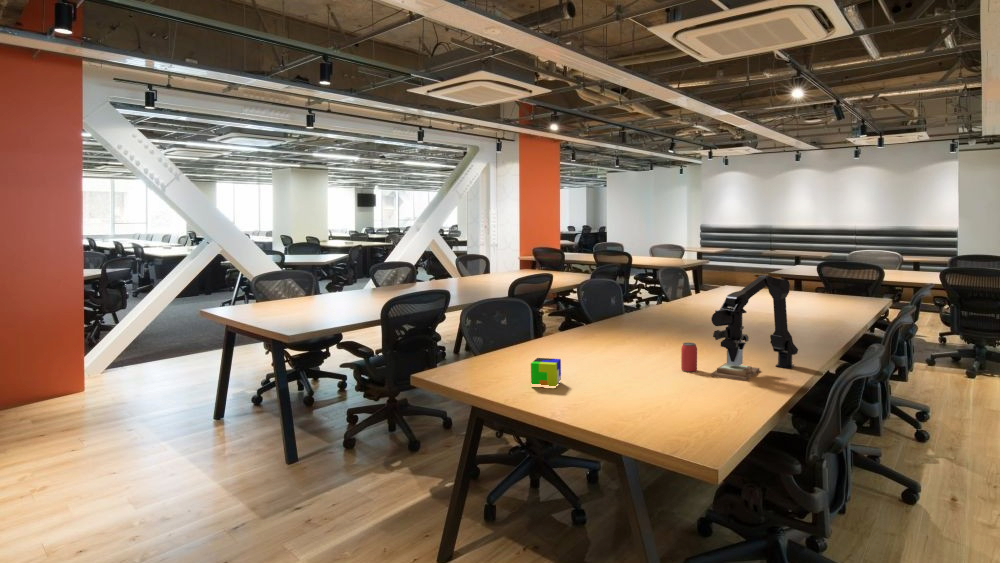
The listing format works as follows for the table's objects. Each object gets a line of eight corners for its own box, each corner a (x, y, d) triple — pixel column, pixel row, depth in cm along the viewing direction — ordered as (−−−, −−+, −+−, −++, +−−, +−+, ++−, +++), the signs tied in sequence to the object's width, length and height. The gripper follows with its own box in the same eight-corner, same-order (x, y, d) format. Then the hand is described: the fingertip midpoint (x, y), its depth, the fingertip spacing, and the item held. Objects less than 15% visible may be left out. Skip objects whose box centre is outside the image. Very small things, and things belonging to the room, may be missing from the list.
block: (730, 362, 245) (730, 348, 245) (742, 363, 242) (742, 349, 241) (726, 364, 241) (726, 350, 241) (738, 366, 238) (739, 351, 238)
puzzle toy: (561, 382, 236) (560, 359, 235) (555, 389, 227) (554, 364, 226) (537, 381, 239) (537, 357, 238) (531, 387, 230) (530, 363, 229)
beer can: (698, 372, 246) (698, 345, 245) (682, 372, 248) (682, 345, 247) (695, 368, 253) (696, 342, 252) (680, 368, 254) (680, 342, 253)
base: (726, 366, 256) (726, 359, 255) (759, 370, 247) (759, 363, 247) (711, 376, 240) (711, 368, 240) (746, 380, 232) (746, 373, 231)
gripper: (722, 319, 252) (722, 354, 254) (708, 325, 238) (707, 362, 239) (749, 321, 245) (748, 357, 247) (735, 328, 231) (735, 365, 232)
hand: (734, 360), depth 242 cm, fingers closed on block, 5 cm apart
